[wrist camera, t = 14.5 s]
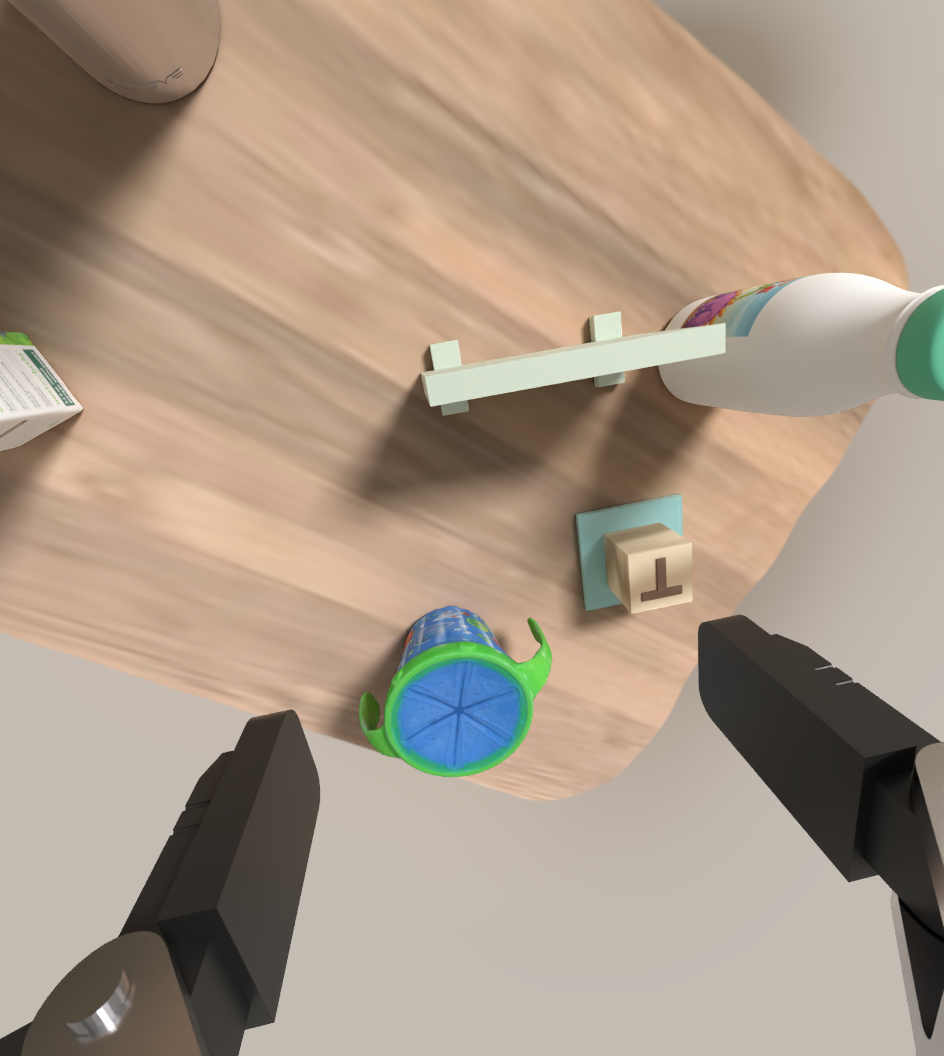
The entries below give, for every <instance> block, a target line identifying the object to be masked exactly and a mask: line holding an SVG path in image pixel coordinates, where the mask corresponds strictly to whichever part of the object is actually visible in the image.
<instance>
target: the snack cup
mask: <svg viewBox="0 0 944 1056" xmlns="http://www.w3.org/2000/svg"><path fill="white" fill-rule="evenodd" d="M527 621H528V624H529V627H530V629H531V632H532V634H533V636H534V638H535V639H536V641H537V642H539V643H540V644H541V647H540V649H539V650H538V651H537V653H536V654H535V656H534V657H533V658H532V659H531V660H529V661H527V662H523V663H517V662H515V661H514V660H513V659H512V658H510V657H509V656H508V655H507V654H506V653H505V652H504V650H503V649H502V647H501V646H500V644H499V642H498V641H497V639H496V638H495V636H494V635H493V633H492V632H491V630H490V629H489V627H488V625H487V624H486V623H485V622H484V621H483V620H482V619H481V618H480V617H478V616H477V615H476V614H474V613H472V612H470V611H469V610H465V609H461V608H458V607H456V606H447V607H445V608H441V609H436V610H434V611H432V612H430V613H428V614H426V615H425V616H424V617H422V618H421V619H420V620H419V621H416V623H415V624H414V626H413V627H412V629H411V631H410V633H409V635H408V637H407V639H406V642H405V646H404V649H403V653H402V656H401V662H400V665H399V667H398V671H397V673H396V675H395V676H394V677H393V679H392V681H391V685H390V688H389V690H388V694H387V698H386V702H385V709H384V724H383V726H382V727H380V728H379V729H377V723H378V721H379V716H380V710H379V704H378V702H377V701H376V699H375V698H374V696H373V695H372V694H371V693H369V692H365V693H364V694H363V695H362V697H361V699H360V703H359V722H360V726H361V729H362V731H363V733H364V735H365V736H366V737H367V739H368V740H369V742H370V744H371V745H372V746H373V747H374V748H375V749H376V750H377V751H378V752H380V753H381V754H383V755H386V756H389V757H398V758H402V759H403V760H404V761H405V762H406V763H408V764H409V765H411V766H412V767H414V768H416V769H418V770H420V771H422V772H425V773H429V774H432V775H436V776H443V777H461V776H469V775H473V774H477V773H480V772H483V771H486V770H488V769H490V768H492V767H494V766H496V765H498V764H499V763H501V762H502V761H504V760H505V759H506V758H508V757H509V756H510V755H511V754H512V753H513V752H514V751H515V750H516V749H517V748H518V747H519V746H520V744H521V743H522V741H523V740H524V738H525V736H526V735H527V733H528V730H529V728H530V725H531V721H532V716H533V700H534V698H535V697H536V695H537V693H538V692H539V691H540V690H541V688H542V687H543V685H544V684H545V683H546V680H547V677H548V675H549V673H550V670H551V663H552V655H551V650H550V647H549V645H548V643H547V642H546V639H545V636H544V634H543V632H542V631H541V629H540V627H539V625H538V624H537V623H536V621H535V620H533V619H532V618H529V619H528V620H527Z"/></svg>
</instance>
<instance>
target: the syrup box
mask: <svg viewBox="0 0 944 1056" xmlns="http://www.w3.org/2000/svg"><path fill="white" fill-rule="evenodd" d="M82 410H83V407H82V406H81V404H80V403H79V402H78V401H77V400H76V399H75V398H74V396H73V395H72V394H71V392H70V391H69V390H68V388H67V387H66V385H65V384H64V383H63V381H62V380H61V379H60V378H59V376H58V375H57V374H56V372H55V371H54V370H53V369H52V367H51V366H50V365H49V364H48V362H47V361H46V360H45V358H44V357H43V356H42V355H41V353H40V352H39V351H38V350H37V348H36V347H35V346H34V345H33V344H32V342H31V341H30V340H29V338H28V337H27V336H26V334H24V333H20V332H5V331H0V451H2V450H7V449H12V448H16V447H19V446H21V445H23V444H25V443H26V442H28V441H30V440H32V439H33V438H35V437H37V436H39V435H40V434H42V433H44V432H45V431H47V430H49V429H51V428H52V427H54V426H56V425H58V424H60V423H61V422H63V421H65V420H67V419H68V418H70V417H72V416H74V415H75V414H77V413H79V412H81V411H82Z"/></svg>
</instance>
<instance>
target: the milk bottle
mask: <svg viewBox="0 0 944 1056" xmlns="http://www.w3.org/2000/svg"><path fill="white" fill-rule="evenodd" d="M722 323H726V333H725V353H722V354H717V355H712V356H706V357H701V358H695V359H690V360H684V361H679V362H673V363H668V364H662V365H658V368H659V372H660V375H661V378H662V380H663V382H664V384H665V386H666V387H667V389H668V390H669V391H670V392H671V393H672V394H673V395H674V396H675V397H677V398H678V399H680V400H682V401H685V402H688V403H692V404H697V405H704V406H711V407H718V408H725V409H732V410H739V411H747V412H755V413H762V414H770V415H780V416H792V417H814V416H823V415H829V414H834V413H838V412H842V411H845V410H849V409H851V408H854V407H857V406H859V405H862V404H864V403H867V402H869V401H871V400H874V399H876V398H879V397H882V396H885V395H890V394H894V393H899V394H901V395H903V396H905V397H908V398H914V399H922V398H925V399H932V400H940V401H944V285H943V286H938V287H934V288H932V289H929V290H928V291H925V292H923V293H922V294H919V293H914V292H909V291H905V290H902V289H900V288H897V287H895V286H893V285H891V284H889V283H887V282H884V281H882V280H879V279H876V278H873V277H870V276H865V275H860V274H851V273H828V274H819V275H813V276H806V277H800V278H794V279H789V280H785V281H780V282H775V283H770V284H765V285H761V286H756V287H751V288H747V289H742V290H738V291H733V292H729V293H725V294H720V295H716V296H711V297H708V298H704V299H701V300H698V301H695V302H693V303H691V304H689V305H688V306H686V307H684V308H683V309H682V310H681V311H680V312H679V313H677V314H676V316H675V317H674V318H673V319H672V320H671V322H670V323H669V325H668V326H667V328H666V329H665V331H668V330H675V329H683V328H691V327H699V326H706V325H714V324H722Z"/></svg>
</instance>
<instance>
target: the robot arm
mask: <svg viewBox="0 0 944 1056" xmlns="http://www.w3.org/2000/svg"><path fill="white" fill-rule="evenodd" d="M8 1H9V2H10V3H11V4H12V5H13V6H14V7H15V8H17V9H18V10H19V11H20V12H21V13H22V14H23V15H24V16H25V17H27V18H28V19H29V20H30V21H31V22H32V23H33V24H34V25H35V26H37V27H38V28H39V29H40V30H41V31H42V32H43V33H44V34H45V35H46V36H47V37H49V38H50V39H51V40H52V41H53V42H54V43H55V44H56V45H57V46H59V47H60V48H61V49H62V50H63V51H64V52H65V53H66V54H67V55H69V56H70V57H71V58H72V59H73V60H74V61H75V62H76V63H77V64H79V65H80V66H81V67H82V68H83V69H84V70H85V71H86V72H87V73H89V74H90V75H91V76H92V77H93V78H94V79H95V80H97V81H98V82H100V83H101V84H102V85H104V86H105V87H107V88H108V89H110V90H111V91H113V92H115V93H117V94H119V95H121V96H124V97H126V98H128V99H131V100H135V101H140V102H144V103H166V102H170V101H173V100H177V99H180V98H182V97H184V96H185V95H187V94H189V93H190V92H192V91H194V90H195V89H196V88H197V87H198V85H199V84H200V83H201V82H202V81H203V80H204V79H205V78H206V76H207V74H208V72H209V71H210V69H211V67H212V65H213V63H214V60H215V57H216V53H217V50H218V46H219V37H220V15H219V5H218V0H8ZM698 667H699V691H700V696H701V700H702V703H703V705H704V707H705V709H706V712H707V713H708V715H709V717H710V718H711V719H712V721H713V722H714V723H715V724H716V726H717V727H718V728H719V729H720V730H721V731H722V733H723V734H724V735H725V736H726V737H727V738H728V740H729V741H730V742H731V743H732V744H733V746H734V747H735V748H736V749H737V750H738V752H739V753H740V754H741V755H742V756H743V757H744V759H745V760H746V761H747V762H748V763H749V765H750V766H751V767H752V768H753V769H754V771H755V772H756V773H757V774H758V775H759V776H760V778H761V779H762V780H763V781H764V782H765V784H766V785H767V786H768V787H769V788H770V789H771V791H772V792H773V793H774V794H775V795H776V797H777V798H778V799H779V800H780V801H781V803H782V804H783V805H784V806H785V807H786V808H787V810H788V811H789V812H790V813H791V814H792V815H793V817H794V818H795V819H796V820H797V821H798V823H799V824H800V825H801V826H802V827H803V829H804V830H805V831H806V832H807V833H808V835H809V836H810V837H811V838H812V839H813V841H814V842H815V843H816V844H817V845H818V846H819V848H820V849H821V850H822V851H823V852H824V854H825V855H826V856H827V857H828V858H829V860H830V861H831V862H832V863H833V864H834V865H835V867H836V868H837V869H838V870H839V871H840V873H841V874H842V875H843V876H844V877H845V878H846V880H847V881H848V882H852V881H855V880H860V879H863V878H868V877H871V876H875V875H879V876H880V877H881V878H882V879H883V880H884V881H885V882H886V883H887V884H888V885H889V887H890V888H891V889H892V895H891V910H892V916H893V921H894V927H895V933H896V939H897V944H898V950H899V955H900V961H901V967H902V973H903V978H904V984H905V990H906V996H907V1001H908V1007H909V1013H910V1018H911V1024H912V1030H913V1036H914V1041H915V1047H916V1055H917V1056H944V742H940V741H939V740H938V739H936V738H935V737H933V736H932V735H931V734H929V733H928V732H926V731H925V730H924V729H922V728H921V727H919V726H918V725H916V724H915V723H914V722H912V721H911V720H910V719H908V718H907V717H905V716H904V715H903V714H901V713H900V712H898V711H897V710H896V709H894V708H893V707H891V706H890V705H889V704H887V703H886V702H884V701H883V700H881V699H880V698H879V697H877V696H876V695H875V694H873V693H872V692H870V691H869V690H868V689H866V688H865V687H863V686H862V685H861V684H859V683H854V682H853V680H852V678H851V677H849V676H848V675H847V674H845V673H844V672H842V671H841V670H840V669H838V668H833V667H832V664H831V663H830V662H828V661H827V660H825V659H824V658H823V657H821V656H820V655H818V654H817V653H816V652H814V651H813V650H812V649H810V648H809V647H807V646H805V645H803V644H800V643H797V642H795V641H793V640H790V639H788V638H785V637H783V636H780V635H778V634H774V635H770V634H768V633H767V632H766V631H764V630H763V629H762V628H760V627H759V626H758V625H756V624H755V623H754V622H752V621H751V620H750V619H748V618H747V617H745V616H743V615H735V616H731V617H726V618H721V619H717V620H712V621H707V622H703V623H701V625H700V626H699V630H698ZM319 804H320V785H319V777H318V772H317V769H316V766H315V763H314V760H313V758H312V755H311V752H310V749H309V746H308V743H307V740H306V738H305V735H304V732H303V729H302V726H301V723H300V720H299V718H298V716H297V714H296V712H295V711H294V710H286V711H282V712H277V713H272V714H268V715H263V716H258V717H254V718H251V719H249V721H248V722H247V724H246V726H245V728H244V730H243V732H242V734H241V737H240V739H239V741H238V743H237V745H236V747H235V750H234V751H230V752H226V753H222V754H221V755H220V756H219V757H218V759H217V760H216V761H215V762H214V763H213V764H212V765H211V766H210V767H209V768H208V770H207V771H206V772H205V773H204V774H203V775H202V776H201V777H200V778H199V780H198V782H197V784H196V786H195V788H194V790H193V792H192V794H191V796H190V798H189V800H188V802H187V803H186V805H185V807H186V810H185V811H183V812H182V813H181V815H180V817H179V819H178V821H177V823H176V825H175V827H174V829H173V831H174V833H173V835H171V836H170V837H169V839H168V841H167V843H166V845H165V847H164V848H163V850H162V852H161V854H160V856H159V858H158V860H157V862H156V864H155V866H154V868H153V870H152V872H151V874H150V876H149V878H148V880H147V882H146V884H145V886H144V888H143V890H142V892H141V893H140V895H139V897H138V899H137V901H136V903H135V905H134V907H133V909H132V911H131V913H130V915H129V917H128V919H127V921H126V923H125V925H124V927H123V929H122V931H121V933H120V935H119V936H118V938H116V939H113V940H112V941H110V942H108V943H106V944H104V945H103V946H101V947H100V948H98V949H97V950H95V951H94V952H92V953H91V954H90V955H88V956H87V957H86V958H85V959H83V960H82V961H81V962H80V963H79V964H77V965H76V966H75V967H74V968H73V969H72V970H71V971H70V972H69V973H68V974H67V975H66V976H65V977H64V978H63V979H62V980H61V982H60V983H59V984H58V985H57V986H56V987H55V989H54V990H53V991H52V992H51V994H50V995H49V996H48V997H47V999H46V1000H45V1002H44V1003H43V1005H42V1006H41V1008H40V1009H39V1011H38V1012H37V1014H36V1016H35V1018H34V1020H33V1021H32V1022H30V1023H29V1024H27V1025H25V1026H23V1027H21V1028H19V1029H18V1030H16V1031H14V1032H12V1033H10V1034H9V1035H7V1036H5V1037H3V1038H1V1039H0V1056H238V1055H239V1050H240V1047H241V1042H242V1039H243V1035H244V1031H245V1030H246V1029H250V1028H254V1027H258V1026H262V1025H266V1024H270V1023H274V1021H275V1016H276V1011H277V1006H278V1002H279V997H280V992H281V987H282V982H283V978H284V973H285V968H286V963H287V959H288V953H289V949H290V944H291V939H292V934H293V930H294V925H295V920H296V915H297V910H298V906H299V901H300V896H301V892H302V887H303V882H304V877H305V872H306V867H307V862H308V858H309V853H310V848H311V843H312V838H313V834H314V829H315V824H316V819H317V814H318V810H319Z"/></svg>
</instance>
